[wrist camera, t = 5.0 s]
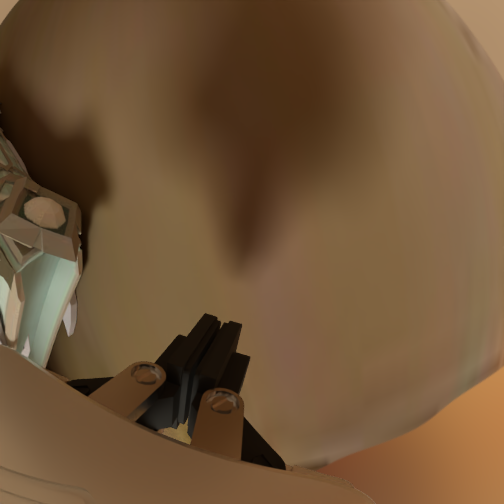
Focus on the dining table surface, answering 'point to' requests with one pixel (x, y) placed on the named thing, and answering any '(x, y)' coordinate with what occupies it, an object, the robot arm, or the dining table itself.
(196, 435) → the robot arm
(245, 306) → the dining table surface
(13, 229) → the ornate book
